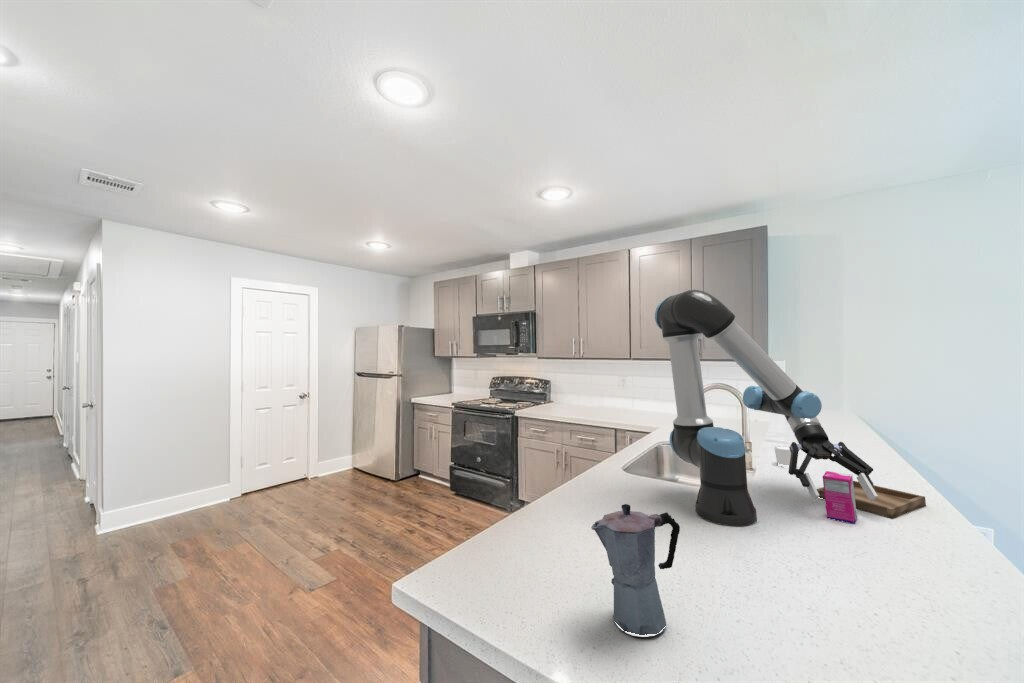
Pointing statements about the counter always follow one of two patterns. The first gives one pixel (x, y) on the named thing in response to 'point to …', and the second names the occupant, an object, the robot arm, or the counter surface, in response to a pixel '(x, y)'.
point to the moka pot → (636, 566)
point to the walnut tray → (885, 501)
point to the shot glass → (783, 455)
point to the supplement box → (840, 496)
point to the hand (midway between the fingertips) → (844, 498)
